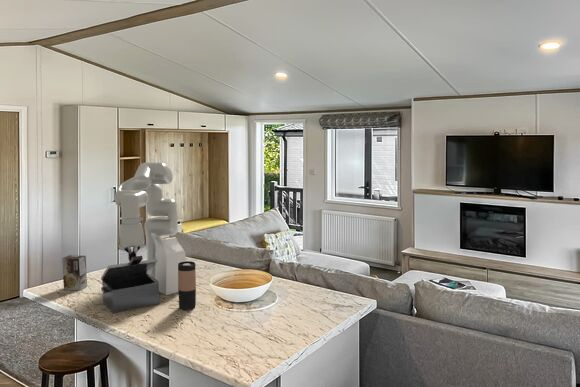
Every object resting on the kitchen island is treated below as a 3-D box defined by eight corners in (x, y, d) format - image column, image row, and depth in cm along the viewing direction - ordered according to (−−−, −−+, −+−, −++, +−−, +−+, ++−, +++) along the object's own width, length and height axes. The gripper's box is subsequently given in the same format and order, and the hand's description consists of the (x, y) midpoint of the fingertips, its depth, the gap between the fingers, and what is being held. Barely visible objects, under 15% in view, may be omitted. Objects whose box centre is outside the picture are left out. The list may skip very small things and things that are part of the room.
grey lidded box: (150, 292, 219) (150, 272, 218) (163, 303, 204) (162, 281, 203) (98, 301, 205) (97, 280, 204) (108, 314, 190) (107, 291, 189)
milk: (175, 284, 232) (175, 234, 229) (187, 289, 224) (187, 238, 221) (154, 289, 223) (153, 238, 221) (166, 294, 215) (165, 241, 212)
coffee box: (87, 286, 227) (86, 255, 225) (80, 290, 220) (79, 258, 219) (70, 285, 228) (69, 254, 226) (63, 289, 221) (61, 257, 219)
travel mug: (180, 304, 203) (179, 261, 200) (197, 304, 203) (196, 261, 201) (177, 310, 195) (176, 265, 193) (195, 310, 196) (194, 265, 193)
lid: (147, 273, 216) (146, 270, 217) (162, 256, 198) (161, 253, 198) (101, 280, 204) (100, 277, 205) (112, 263, 185) (111, 259, 186)
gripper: (145, 217, 203) (146, 257, 206) (111, 221, 195) (112, 262, 197) (150, 220, 197) (152, 261, 200) (115, 224, 189) (117, 266, 191)
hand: (132, 261), depth 199 cm, fingers closed
